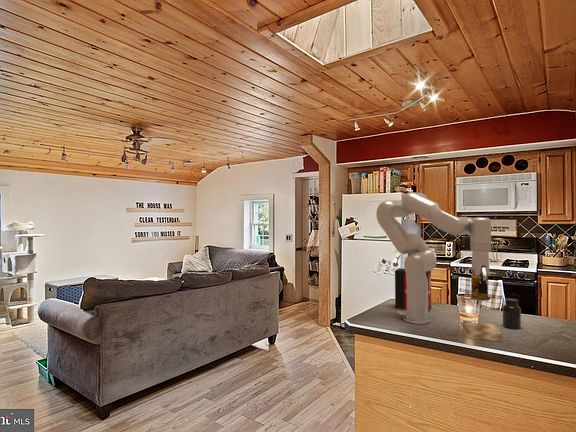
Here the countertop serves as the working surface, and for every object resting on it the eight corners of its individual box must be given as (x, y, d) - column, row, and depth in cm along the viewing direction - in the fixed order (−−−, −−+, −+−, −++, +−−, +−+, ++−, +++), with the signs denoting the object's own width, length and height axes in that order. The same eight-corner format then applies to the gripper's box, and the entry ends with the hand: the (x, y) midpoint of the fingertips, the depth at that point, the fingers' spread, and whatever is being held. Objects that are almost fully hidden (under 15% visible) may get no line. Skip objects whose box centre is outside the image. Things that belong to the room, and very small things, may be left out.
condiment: (468, 299, 150) (468, 269, 150) (473, 295, 157) (473, 267, 156) (488, 301, 145) (488, 271, 145) (492, 297, 152) (492, 268, 152)
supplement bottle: (523, 329, 157) (523, 301, 156) (506, 328, 158) (505, 301, 158) (517, 324, 163) (516, 298, 163) (500, 324, 165) (500, 297, 164)
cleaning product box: (395, 308, 193) (394, 270, 193) (399, 304, 201) (398, 268, 201) (428, 312, 185) (428, 272, 185) (431, 308, 193) (430, 270, 193)
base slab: (467, 338, 146) (467, 330, 146) (462, 329, 158) (462, 322, 158) (501, 341, 143) (501, 333, 143) (493, 331, 155) (493, 324, 154)
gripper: (466, 245, 159) (467, 286, 160) (474, 249, 143) (475, 295, 143) (486, 245, 157) (486, 287, 157) (496, 250, 141) (496, 296, 141)
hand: (481, 291), depth 150 cm, fingers closed on condiment, 6 cm apart
